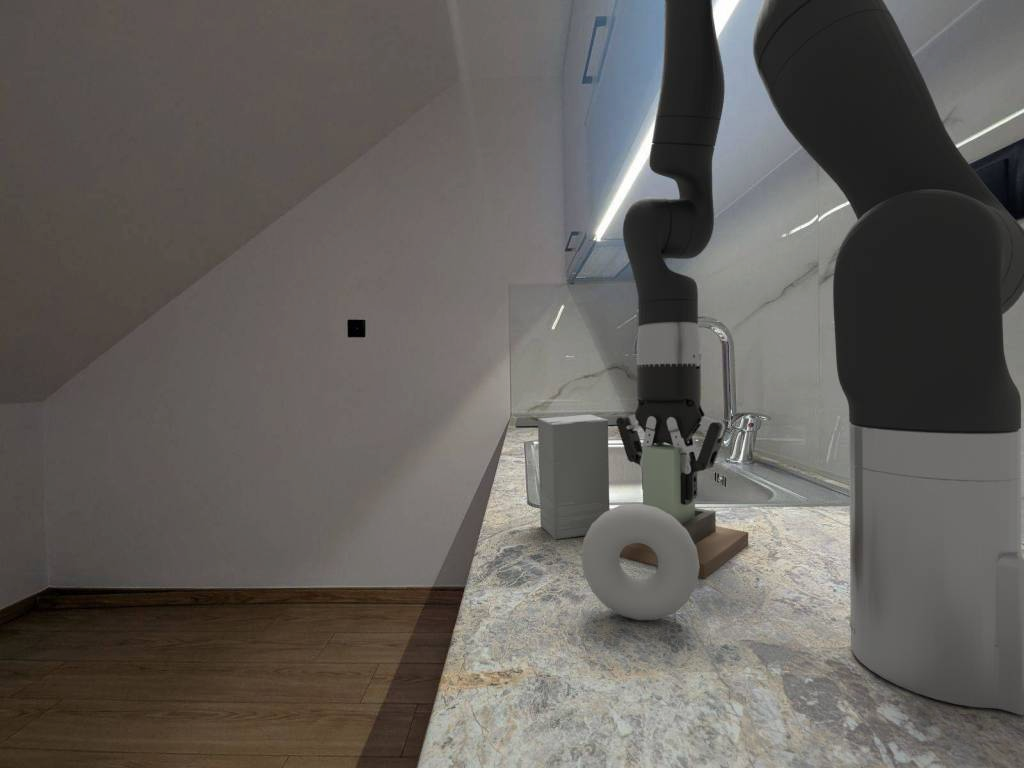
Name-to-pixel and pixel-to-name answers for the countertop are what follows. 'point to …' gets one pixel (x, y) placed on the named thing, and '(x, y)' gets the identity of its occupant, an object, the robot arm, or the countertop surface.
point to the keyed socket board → (699, 543)
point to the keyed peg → (664, 481)
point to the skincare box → (572, 473)
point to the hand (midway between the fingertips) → (669, 499)
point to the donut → (633, 594)
